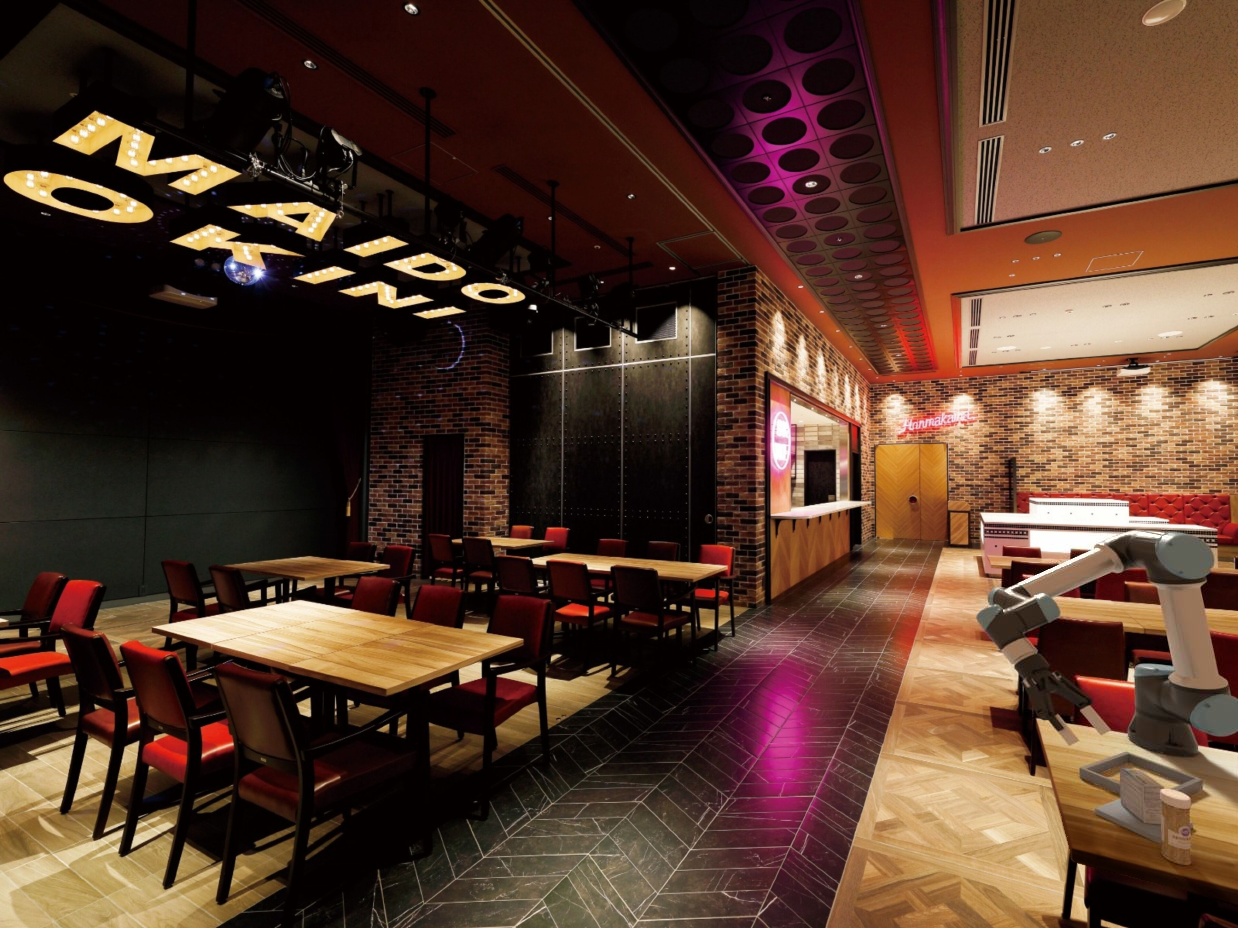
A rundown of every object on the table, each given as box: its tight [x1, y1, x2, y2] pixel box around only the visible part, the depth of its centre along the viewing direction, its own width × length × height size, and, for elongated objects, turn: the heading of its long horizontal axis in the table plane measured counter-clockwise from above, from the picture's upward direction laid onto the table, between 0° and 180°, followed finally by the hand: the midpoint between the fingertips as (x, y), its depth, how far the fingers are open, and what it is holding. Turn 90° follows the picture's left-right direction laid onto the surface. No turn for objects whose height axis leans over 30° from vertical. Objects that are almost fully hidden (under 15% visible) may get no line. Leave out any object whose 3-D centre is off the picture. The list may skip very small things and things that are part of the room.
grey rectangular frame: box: [1078, 751, 1204, 797], centre depth 148 cm, size 22×16×2 cm
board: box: [1094, 798, 1194, 844], centre depth 132 cm, size 14×12×1 cm
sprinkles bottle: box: [1160, 788, 1192, 866], centre depth 119 cm, size 5×5×14 cm
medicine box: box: [1119, 768, 1165, 825], centre depth 132 cm, size 8×4×9 cm, turn 169°
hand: (1090, 738), depth 142 cm, fingers open, 13 cm apart
